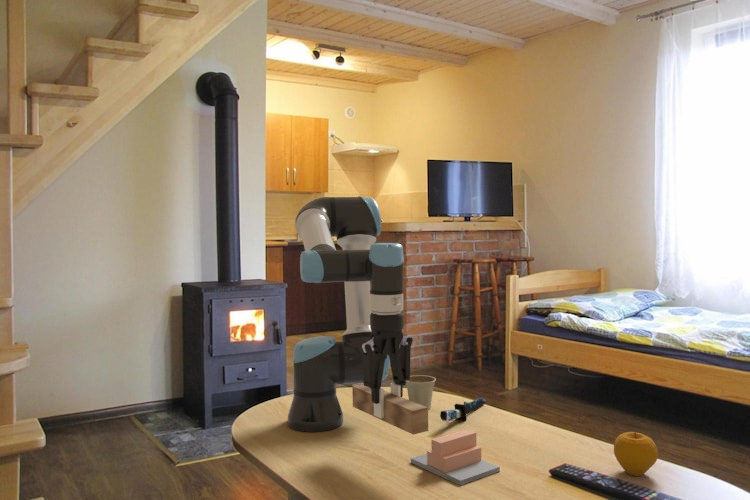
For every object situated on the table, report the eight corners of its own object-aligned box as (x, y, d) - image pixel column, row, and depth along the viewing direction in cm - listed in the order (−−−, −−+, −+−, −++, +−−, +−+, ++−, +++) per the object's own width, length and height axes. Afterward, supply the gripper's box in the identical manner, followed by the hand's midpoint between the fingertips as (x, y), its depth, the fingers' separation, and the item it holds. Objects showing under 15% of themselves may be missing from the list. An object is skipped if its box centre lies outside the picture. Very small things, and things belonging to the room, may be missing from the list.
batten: (352, 406, 151) (352, 386, 151) (366, 403, 153) (366, 383, 153) (413, 434, 131) (412, 411, 131) (428, 430, 133) (428, 407, 133)
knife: (444, 428, 163) (445, 411, 164) (433, 426, 165) (434, 409, 165) (493, 411, 188) (494, 396, 188) (484, 410, 190) (485, 395, 190)
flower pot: (402, 403, 191) (401, 375, 190) (432, 402, 192) (432, 374, 191) (407, 413, 181) (406, 383, 181) (439, 411, 182) (438, 382, 182)
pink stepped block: (410, 462, 144) (410, 432, 143) (448, 450, 151) (448, 421, 151) (460, 485, 131) (460, 452, 131) (499, 471, 138) (499, 439, 138)
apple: (667, 478, 133) (668, 437, 133) (632, 484, 131) (632, 441, 130) (638, 463, 142) (638, 424, 142) (604, 468, 139) (604, 428, 139)
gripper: (365, 318, 133) (366, 427, 134) (426, 310, 143) (426, 411, 144) (345, 313, 139) (346, 418, 140) (405, 306, 149) (405, 403, 150)
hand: (387, 414), depth 142 cm, fingers closed on batten, 4 cm apart
